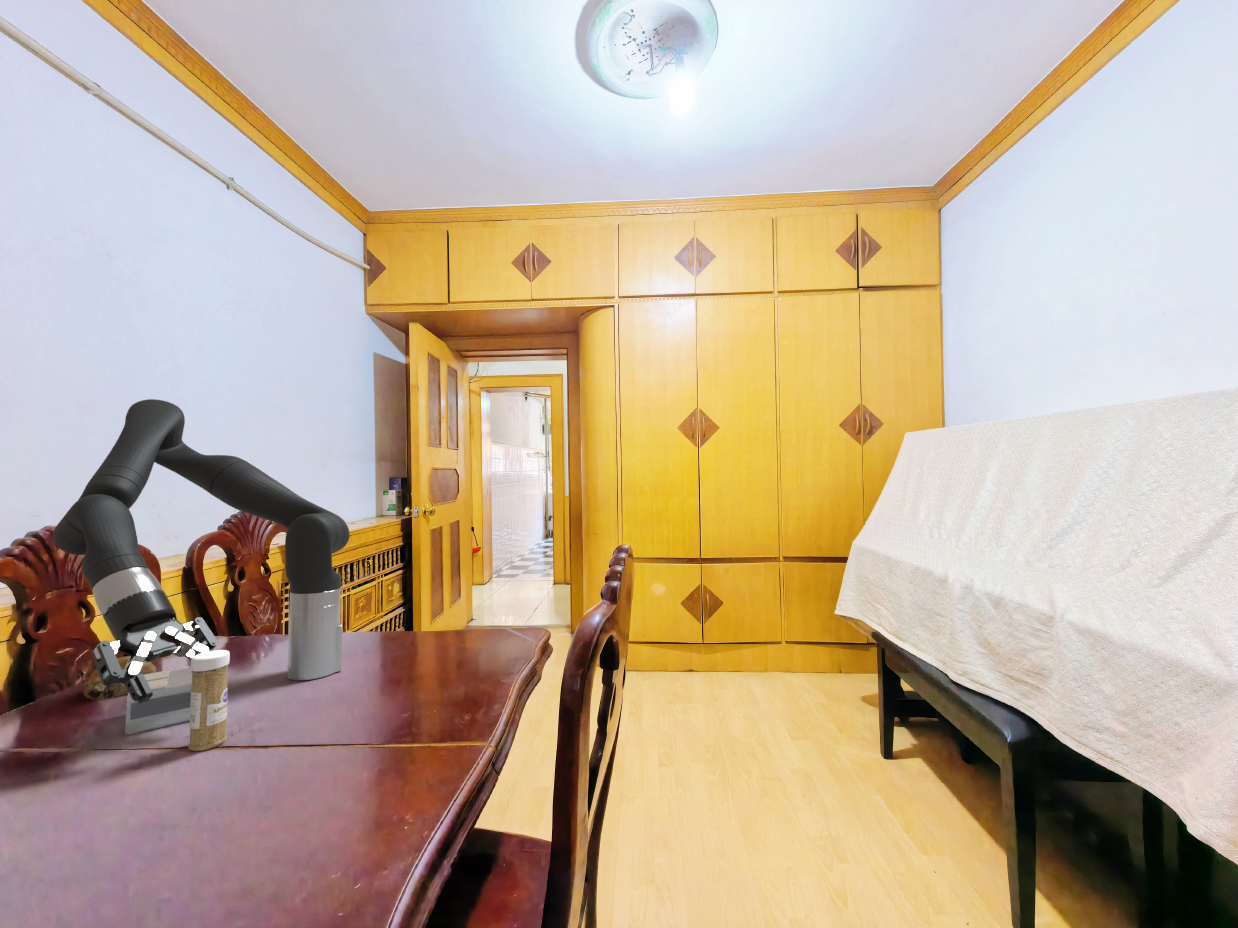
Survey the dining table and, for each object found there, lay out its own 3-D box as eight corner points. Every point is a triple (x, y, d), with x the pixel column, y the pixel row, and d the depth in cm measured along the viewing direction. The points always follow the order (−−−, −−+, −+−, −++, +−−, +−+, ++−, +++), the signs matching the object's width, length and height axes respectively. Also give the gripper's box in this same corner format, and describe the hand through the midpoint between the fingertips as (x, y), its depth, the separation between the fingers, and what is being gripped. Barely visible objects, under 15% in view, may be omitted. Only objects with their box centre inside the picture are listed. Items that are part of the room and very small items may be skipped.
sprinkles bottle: (225, 746, 74) (228, 654, 75) (184, 755, 72) (188, 660, 72) (228, 733, 78) (231, 646, 79) (190, 742, 75) (193, 652, 76)
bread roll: (157, 705, 97) (179, 662, 101) (95, 702, 88) (121, 654, 92) (125, 699, 100) (148, 657, 104) (63, 694, 92) (89, 649, 95)
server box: (222, 694, 93) (223, 659, 93) (223, 713, 85) (224, 675, 85) (133, 713, 85) (134, 675, 86) (124, 736, 77) (126, 694, 78)
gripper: (172, 606, 87) (215, 683, 84) (62, 630, 74) (108, 723, 70) (196, 579, 86) (240, 657, 82) (87, 599, 72) (136, 693, 69)
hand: (179, 687), depth 76 cm, fingers open, 8 cm apart
